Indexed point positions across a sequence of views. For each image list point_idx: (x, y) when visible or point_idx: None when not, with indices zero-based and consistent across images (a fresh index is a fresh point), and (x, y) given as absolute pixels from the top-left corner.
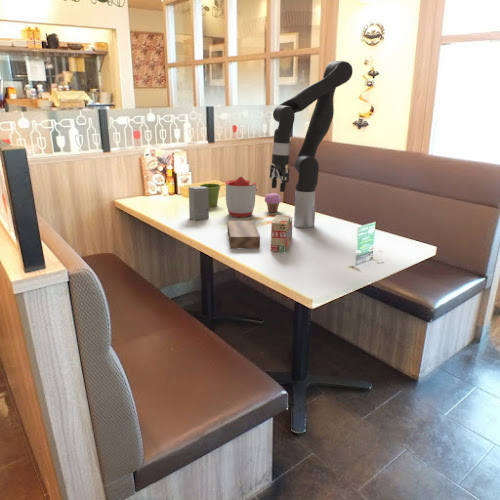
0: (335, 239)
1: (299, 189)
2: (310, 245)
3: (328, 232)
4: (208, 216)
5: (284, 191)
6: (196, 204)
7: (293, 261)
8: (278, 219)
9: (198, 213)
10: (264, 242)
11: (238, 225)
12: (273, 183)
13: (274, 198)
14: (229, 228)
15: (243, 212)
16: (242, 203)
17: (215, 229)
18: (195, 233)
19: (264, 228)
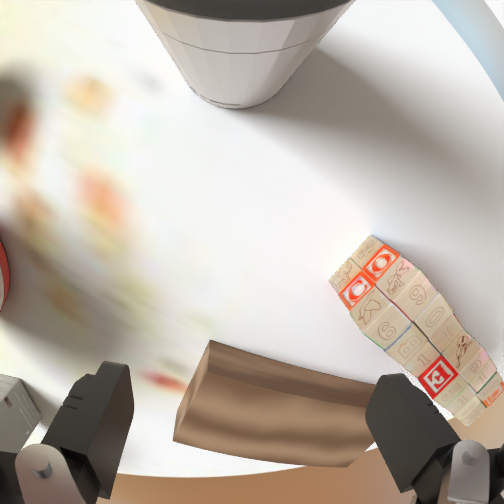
0: (463, 100)
1: (299, 6)
2: (466, 231)
3: (388, 44)
4: (17, 384)
5: (399, 375)
6: (18, 444)
7: (489, 341)
8: (470, 404)
9: (28, 421)
10: (357, 359)
11: (251, 436)
12: (117, 449)
13: None
14: (270, 460)
15: (1, 285)
16: None
17: (140, 423)
18: (167, 464)
19: (188, 277)
